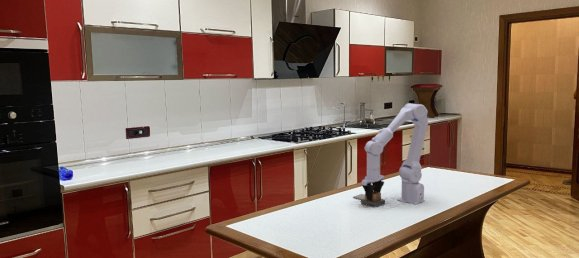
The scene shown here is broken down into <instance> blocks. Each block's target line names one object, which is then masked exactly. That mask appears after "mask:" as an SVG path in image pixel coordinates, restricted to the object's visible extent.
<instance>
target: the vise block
mask: <svg viewBox="0 0 579 258" xmlns="http://www.w3.org/2000/svg"><path fill="white" fill-rule="evenodd" d="M373 194H374V193H373ZM360 204H361V205H364V206H369V207H374V208H378V207H380V206H383V205H385V204H386V199H384V198H381V199H380V200H378V201H375V202H374V201H370V200H365V198H363V199H361V200H360Z"/></svg>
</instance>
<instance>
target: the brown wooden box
mask: <svg viewBox="0 0 579 258" xmlns="http://www.w3.org/2000/svg"><path fill="white" fill-rule="evenodd" d="M373 193H374V194H373V196H372V200H370V201H374V202H375V201H378V200H380V199H382V192H381V191H380V192H375V191H373ZM364 195H365V200H367V197H366V193H365V192H364Z"/></svg>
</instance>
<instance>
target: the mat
mask: <svg viewBox="0 0 579 258" xmlns="http://www.w3.org/2000/svg"><path fill="white" fill-rule="evenodd" d="M363 198H365V193H360V194H357V195H354V196H352V199H355V200H360V201H361V199H363Z"/></svg>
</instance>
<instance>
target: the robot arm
mask: <svg viewBox="0 0 579 258" xmlns="http://www.w3.org/2000/svg"><path fill="white" fill-rule="evenodd" d="M428 112H429V111H428V109H427V107H425V105H424V104H421V103H419V104H418V103H410V102H408V103H406V104H405V105H404V106H403V107H402V108H401V109H400V111H399V112H398V114H396V116H395V117H394V119H393V120H392V121H391V123H390V124H388V126H387V127H383V128H380V129H379V130H378V133H377V134H376V135H375V136H374V137H372V138H371V140H369V141H367V142H366V143H365V146H364V148H363V149H364V151H365V152H366V176H364V179H362V180H361V187H362V188H363V190H364V194H365V193H366V197H367V200H372V196H373V191H375V192H380V193H381V191H382V188H383V186H384V184H385V175H382V174H381V154H382V153H383V152H384V147H386V145H387V143H389V142H390V141H391V139H392V138H394V132H395V131H397V130H398V129H399V128H400V127H401V126H402V125H403V124H404V123H405V122H407V121H411V122H412V124H413V125H414V127H413V132H412V137H411V139H410V144H409V149H408V153H407V157H406V159H405V160H403V162H402V164H401V166H400V167H399V170H398V175H399V177H400V179H401V194H400V195H401V197H400V198H398V199H397V201H398V202H403V203H408V204H412V205H418V204H420V203H423V202H425V186H424V184H423V183H420V181H421V179H422V176H423V175H422V168H423V167H422V165H421V163H420V160H421V156H422V153H423V152H422V151H423V147H424V142H425V139H426V136H427V135H426V134H427V131H428V126H429V121H428Z"/></svg>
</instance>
